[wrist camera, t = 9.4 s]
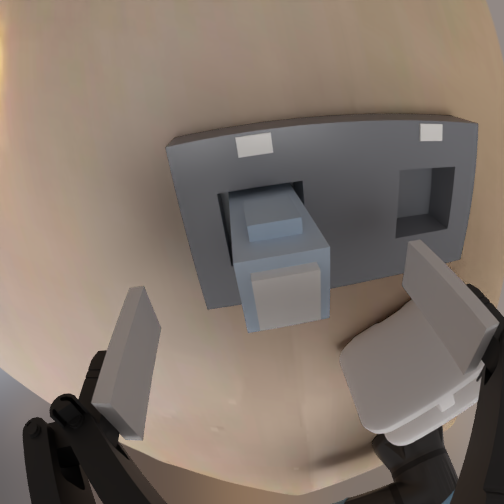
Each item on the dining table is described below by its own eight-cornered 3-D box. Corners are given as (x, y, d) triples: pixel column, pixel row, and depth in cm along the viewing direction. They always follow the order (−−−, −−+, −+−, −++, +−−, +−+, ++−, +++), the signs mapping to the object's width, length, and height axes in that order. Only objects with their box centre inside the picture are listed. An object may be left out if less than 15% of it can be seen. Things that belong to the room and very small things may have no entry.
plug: (290, 227, 23) (332, 326, 14) (237, 236, 23) (249, 341, 14) (283, 165, 21) (334, 236, 11) (225, 174, 21) (230, 254, 11)
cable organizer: (447, 267, 28) (510, 342, 18) (459, 319, 32) (504, 383, 22) (332, 345, 31) (365, 438, 21) (365, 381, 36) (394, 455, 26)
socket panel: (439, 240, 26) (461, 260, 23) (208, 282, 26) (207, 310, 22) (451, 115, 20) (479, 124, 16) (174, 137, 19) (164, 147, 16)
